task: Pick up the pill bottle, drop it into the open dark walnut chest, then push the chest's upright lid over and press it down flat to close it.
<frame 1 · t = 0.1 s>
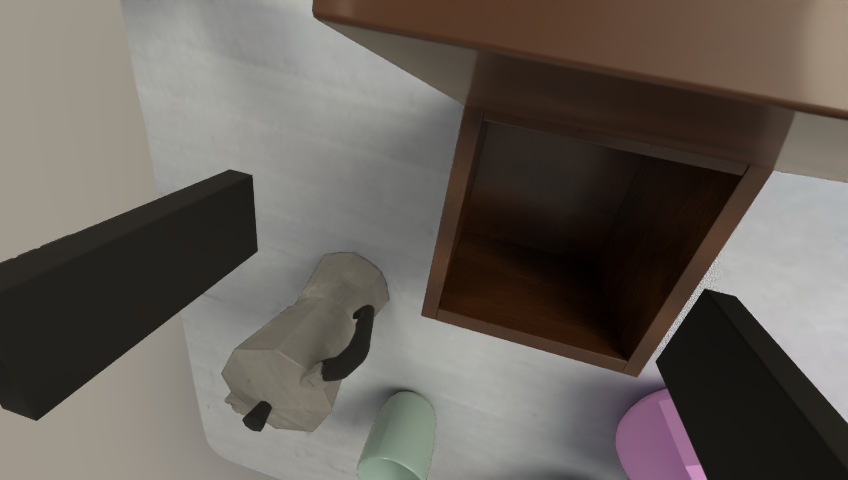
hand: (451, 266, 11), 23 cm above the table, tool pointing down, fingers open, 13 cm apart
cup: (413, 402, 48), on the table
coffeepot: (358, 281, 41), on the table
chest: (547, 181, 31), on the table
lid: (707, 129, 9), point 21 cm above the table, hinge at 100.0°
teapot: (689, 426, 40), on the table
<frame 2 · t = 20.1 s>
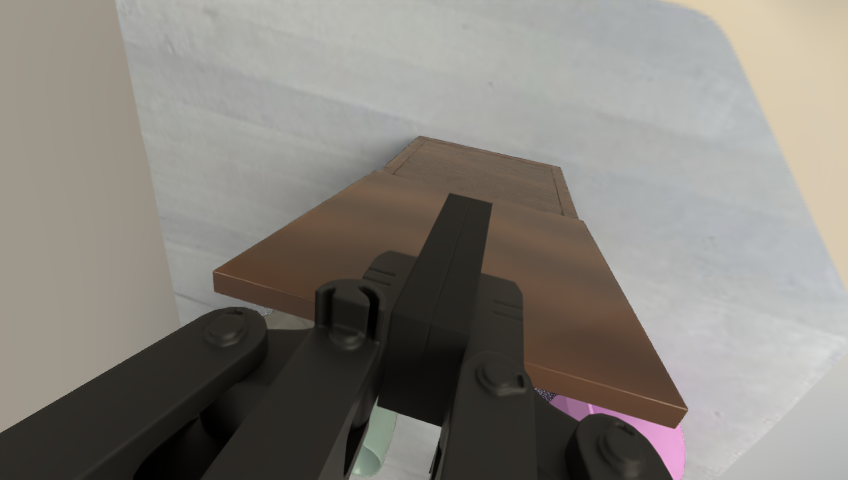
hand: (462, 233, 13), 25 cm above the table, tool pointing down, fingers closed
cup: (379, 394, 56), on the table
coffeepot: (328, 291, 49), on the table
chest: (472, 214, 39), on the table
lid: (460, 244, 17), point 21 cm above the table, hinge at 94.8°, touching gripper
teapot: (604, 413, 48), on the table
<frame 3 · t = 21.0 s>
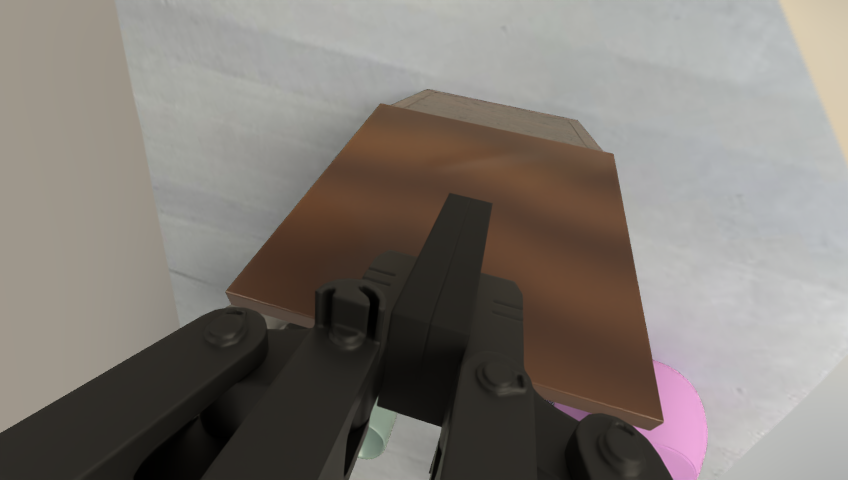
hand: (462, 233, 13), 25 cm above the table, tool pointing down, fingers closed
cup: (382, 375, 54), on the table
coffeepot: (329, 265, 47), on the table
chest: (482, 176, 37), on the table
lid: (469, 210, 17), point 21 cm above the table, hinge at 73.5°, touching gripper
teapot: (619, 392, 46), on the table
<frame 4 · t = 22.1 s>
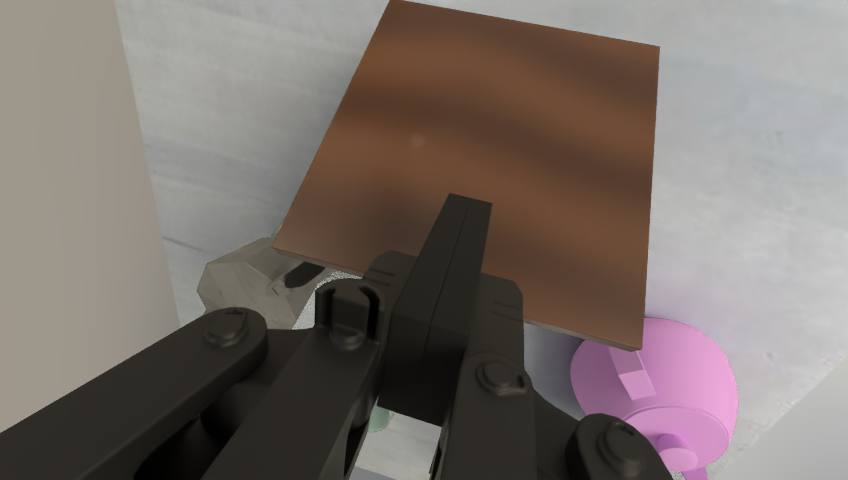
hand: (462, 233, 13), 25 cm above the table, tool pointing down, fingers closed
cup: (386, 348, 51), on the table
coffeepot: (331, 226, 44), on the table
lid: (487, 140, 16), point 19 cm above the table, hinge at 51.1°, touching gripper
teapot: (639, 360, 43), on the table
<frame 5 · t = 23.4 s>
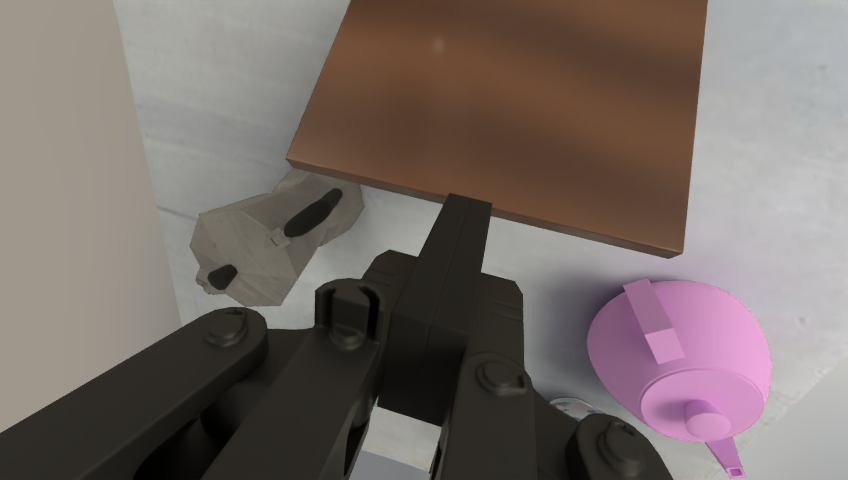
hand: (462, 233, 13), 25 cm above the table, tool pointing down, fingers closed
coffeepot: (334, 190, 42), on the table
lid: (513, 39, 15), point 19 cm above the table, hinge at 44.6°, touching gripper
teapot: (660, 329, 41), on the table
chinaware: (569, 413, 49), on the table
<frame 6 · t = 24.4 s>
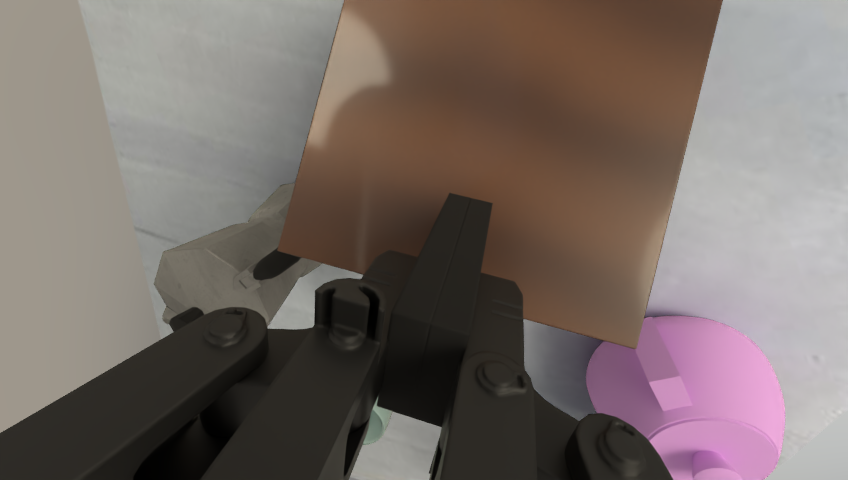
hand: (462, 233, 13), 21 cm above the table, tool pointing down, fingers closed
cup: (381, 350, 47), on the table
coffeepot: (318, 214, 39), on the table
lid: (494, 110, 14), point 17 cm above the table, hinge at 30.6°, touching gripper
teapot: (663, 364, 38), on the table
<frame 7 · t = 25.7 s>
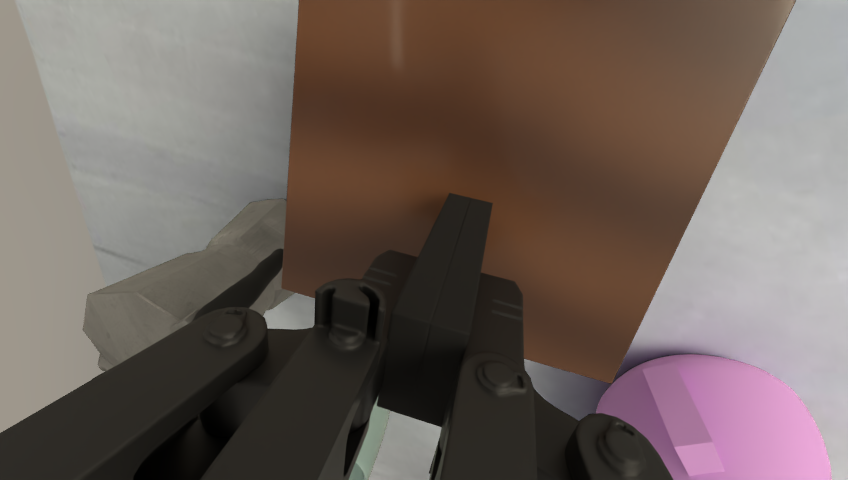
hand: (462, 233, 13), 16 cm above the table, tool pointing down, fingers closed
cup: (367, 381, 42), on the table
coffeepot: (293, 235, 35), on the table
lid: (483, 149, 13), point 15 cm above the table, hinge at 8.7°
teapot: (682, 405, 34), on the table
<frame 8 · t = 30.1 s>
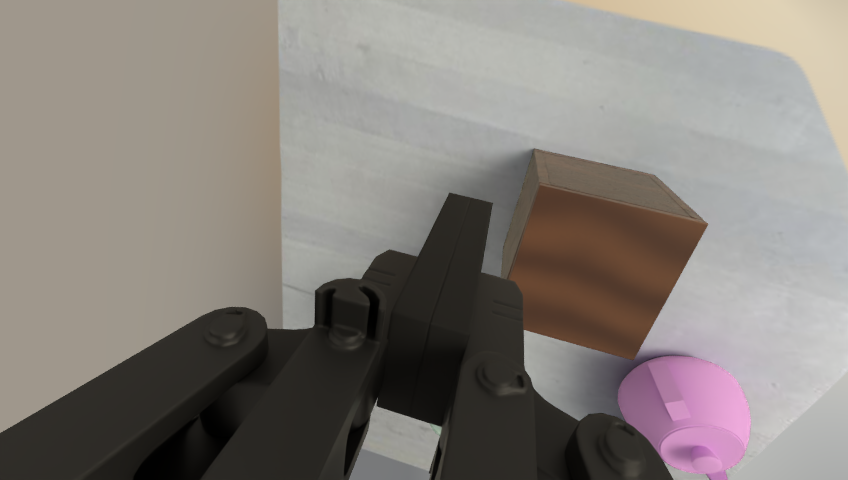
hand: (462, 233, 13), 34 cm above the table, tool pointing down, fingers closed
chest: (572, 214, 47), on the table
lid: (588, 276, 35), point 14 cm above the table, hinge at 4.6°
teapot: (671, 387, 55), on the table
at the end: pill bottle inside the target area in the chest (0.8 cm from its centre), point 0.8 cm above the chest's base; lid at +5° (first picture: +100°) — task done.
